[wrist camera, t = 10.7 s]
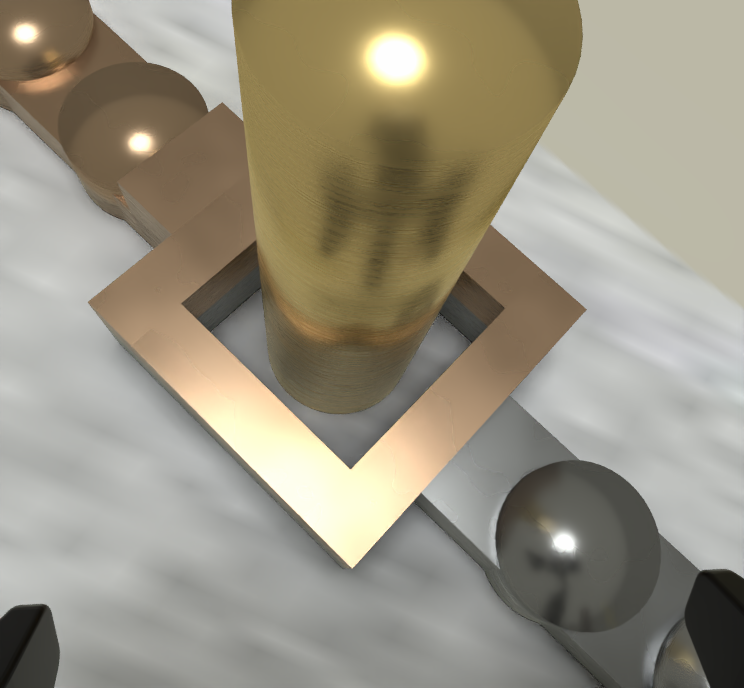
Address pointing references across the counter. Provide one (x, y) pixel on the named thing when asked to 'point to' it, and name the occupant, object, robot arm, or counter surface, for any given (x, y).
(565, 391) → the counter surface
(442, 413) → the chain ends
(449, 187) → the brass pin
